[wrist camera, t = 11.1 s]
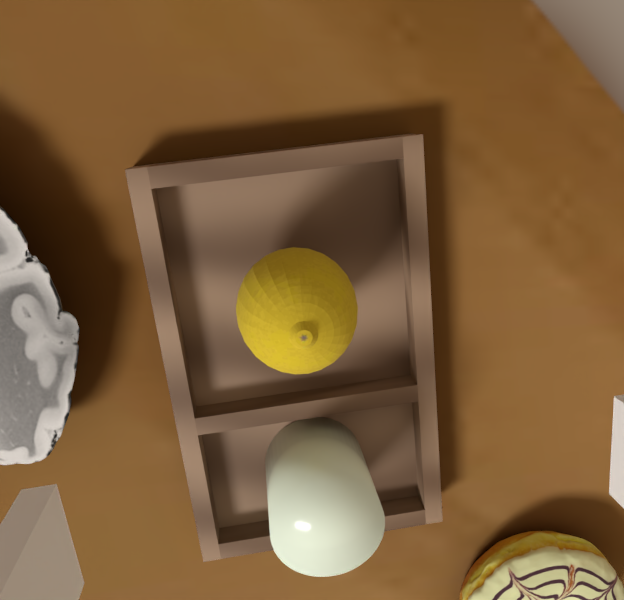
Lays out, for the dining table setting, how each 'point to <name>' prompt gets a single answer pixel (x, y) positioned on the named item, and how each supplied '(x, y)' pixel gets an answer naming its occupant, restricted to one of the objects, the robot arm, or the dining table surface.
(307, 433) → the white capsule pill
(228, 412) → the organizer
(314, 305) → the lemon
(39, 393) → the brain slice
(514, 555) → the decorated donut
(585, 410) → the dining table surface
